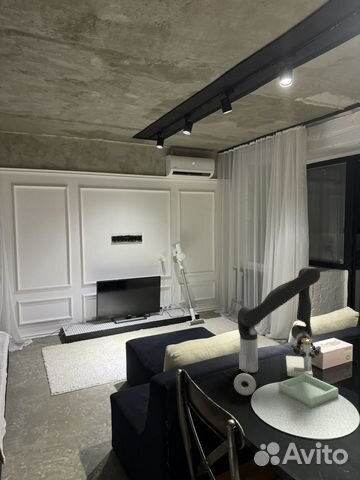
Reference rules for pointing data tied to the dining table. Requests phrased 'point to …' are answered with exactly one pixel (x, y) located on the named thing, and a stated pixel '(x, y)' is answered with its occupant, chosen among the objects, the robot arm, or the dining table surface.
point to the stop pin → (307, 353)
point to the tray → (308, 390)
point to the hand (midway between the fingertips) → (307, 356)
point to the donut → (247, 378)
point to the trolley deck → (296, 366)
